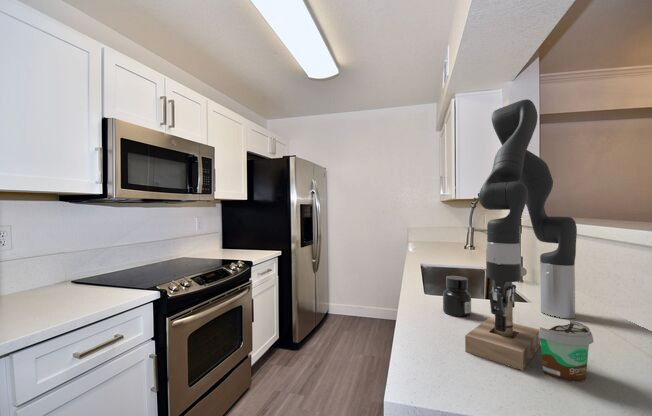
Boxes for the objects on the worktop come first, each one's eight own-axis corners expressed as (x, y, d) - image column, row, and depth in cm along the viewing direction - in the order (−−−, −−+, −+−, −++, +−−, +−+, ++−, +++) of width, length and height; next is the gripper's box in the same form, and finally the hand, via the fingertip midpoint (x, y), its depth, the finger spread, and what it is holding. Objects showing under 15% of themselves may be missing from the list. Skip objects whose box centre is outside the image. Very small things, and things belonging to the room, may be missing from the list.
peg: (496, 336, 76) (496, 297, 76) (515, 341, 73) (514, 301, 73) (491, 340, 73) (491, 301, 73) (510, 346, 70) (510, 304, 70)
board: (489, 331, 83) (489, 317, 84) (540, 345, 75) (540, 329, 75) (465, 351, 71) (465, 335, 71) (522, 370, 62) (522, 352, 62)
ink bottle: (474, 319, 93) (474, 281, 94) (445, 316, 95) (445, 280, 96) (467, 309, 103) (467, 275, 103) (441, 307, 105) (441, 274, 105)
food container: (573, 391, 55) (572, 338, 56) (538, 374, 61) (538, 327, 61) (606, 377, 60) (606, 329, 60) (572, 363, 66) (571, 319, 66)
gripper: (495, 256, 81) (495, 317, 81) (477, 261, 71) (477, 331, 71) (527, 259, 76) (527, 325, 75) (512, 265, 66) (512, 341, 65)
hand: (503, 327), depth 73 cm, fingers closed on peg, 4 cm apart
